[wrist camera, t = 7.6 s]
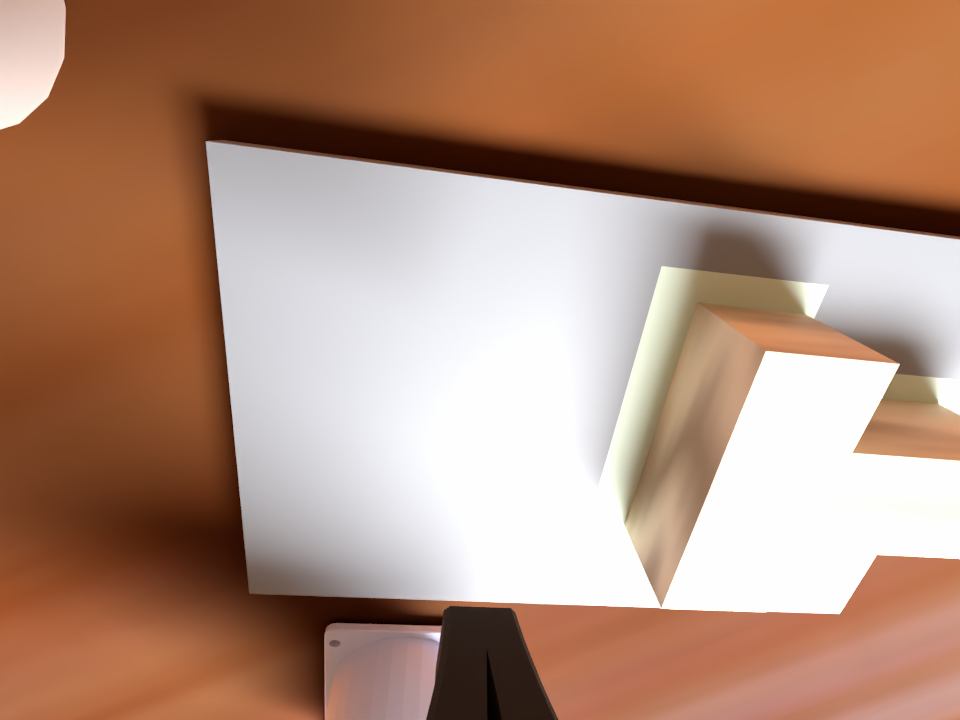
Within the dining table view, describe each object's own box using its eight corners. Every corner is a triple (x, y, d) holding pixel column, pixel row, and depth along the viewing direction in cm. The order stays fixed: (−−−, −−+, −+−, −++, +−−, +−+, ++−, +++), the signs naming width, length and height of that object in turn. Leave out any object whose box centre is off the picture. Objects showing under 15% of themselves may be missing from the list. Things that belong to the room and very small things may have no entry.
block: (858, 537, 22) (938, 618, 19) (624, 525, 21) (661, 608, 17) (981, 332, 18) (1114, 384, 14) (697, 302, 17) (765, 351, 13)
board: (823, 593, 26) (839, 613, 24) (258, 571, 22) (249, 593, 21) (1029, 245, 18) (1066, 253, 17) (223, 140, 15) (205, 141, 14)
